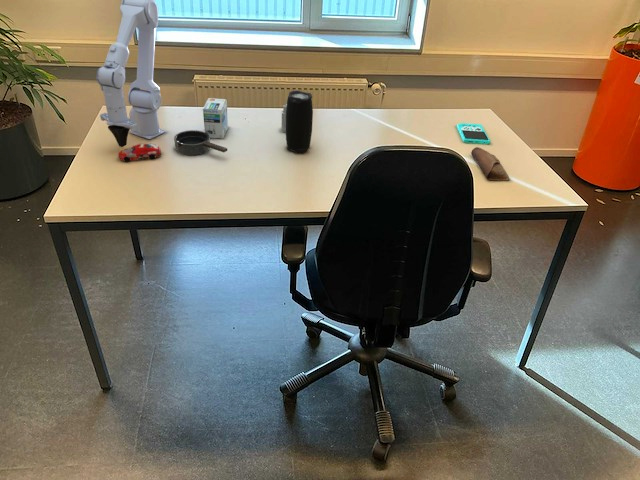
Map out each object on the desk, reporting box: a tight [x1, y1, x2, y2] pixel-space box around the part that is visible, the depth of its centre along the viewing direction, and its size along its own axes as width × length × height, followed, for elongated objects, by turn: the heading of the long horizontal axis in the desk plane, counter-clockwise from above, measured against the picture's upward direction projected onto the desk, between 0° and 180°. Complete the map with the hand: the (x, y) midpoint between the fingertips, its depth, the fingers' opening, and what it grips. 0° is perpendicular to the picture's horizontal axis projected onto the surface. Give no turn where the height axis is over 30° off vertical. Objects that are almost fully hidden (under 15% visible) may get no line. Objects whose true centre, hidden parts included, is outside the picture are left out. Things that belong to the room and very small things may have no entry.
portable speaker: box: [284, 90, 314, 155], centre depth 176 cm, size 9×9×20 cm
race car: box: [117, 143, 162, 163], centre depth 169 cm, size 13×5×4 cm, turn 109°
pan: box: [173, 129, 211, 156], centre depth 176 cm, size 12×12×4 cm
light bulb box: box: [202, 97, 229, 139], centre depth 186 cm, size 11×7×11 cm, turn 179°
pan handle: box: [204, 141, 228, 153], centre depth 172 cm, size 8×2×1 cm, turn 60°
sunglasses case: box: [470, 146, 510, 182], centre depth 177 cm, size 18×7×7 cm
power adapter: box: [280, 101, 287, 133], centre depth 190 cm, size 3×5×12 cm, turn 92°
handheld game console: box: [456, 122, 491, 145], centre depth 200 cm, size 10×16×1 cm, turn 178°
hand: (122, 145), depth 172 cm, fingers closed
